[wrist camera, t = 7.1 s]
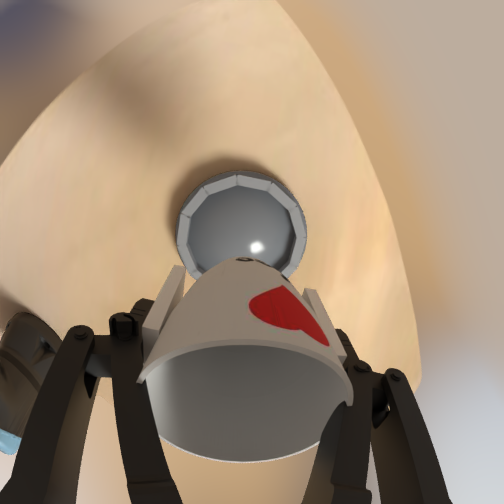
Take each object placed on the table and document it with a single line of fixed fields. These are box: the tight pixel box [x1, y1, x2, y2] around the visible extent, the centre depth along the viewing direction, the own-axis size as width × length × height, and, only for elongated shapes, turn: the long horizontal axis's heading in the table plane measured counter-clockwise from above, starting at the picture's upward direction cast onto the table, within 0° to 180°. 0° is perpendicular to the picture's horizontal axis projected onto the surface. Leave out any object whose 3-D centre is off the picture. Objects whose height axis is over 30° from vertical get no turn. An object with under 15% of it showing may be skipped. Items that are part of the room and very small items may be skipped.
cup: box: [137, 256, 353, 463], centre depth 13 cm, size 8×8×10 cm
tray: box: [175, 170, 307, 280], centre depth 29 cm, size 14×14×2 cm
